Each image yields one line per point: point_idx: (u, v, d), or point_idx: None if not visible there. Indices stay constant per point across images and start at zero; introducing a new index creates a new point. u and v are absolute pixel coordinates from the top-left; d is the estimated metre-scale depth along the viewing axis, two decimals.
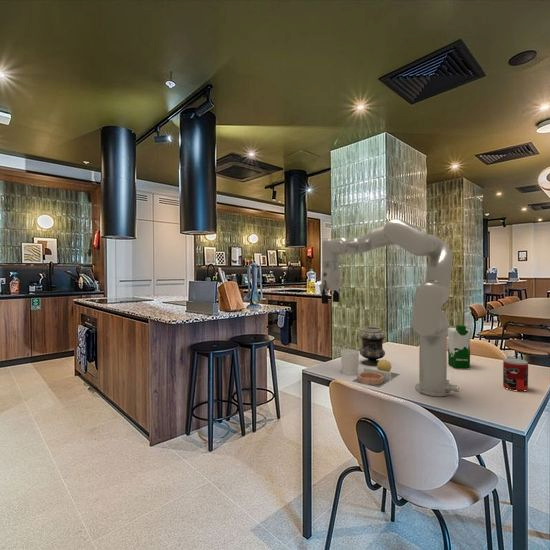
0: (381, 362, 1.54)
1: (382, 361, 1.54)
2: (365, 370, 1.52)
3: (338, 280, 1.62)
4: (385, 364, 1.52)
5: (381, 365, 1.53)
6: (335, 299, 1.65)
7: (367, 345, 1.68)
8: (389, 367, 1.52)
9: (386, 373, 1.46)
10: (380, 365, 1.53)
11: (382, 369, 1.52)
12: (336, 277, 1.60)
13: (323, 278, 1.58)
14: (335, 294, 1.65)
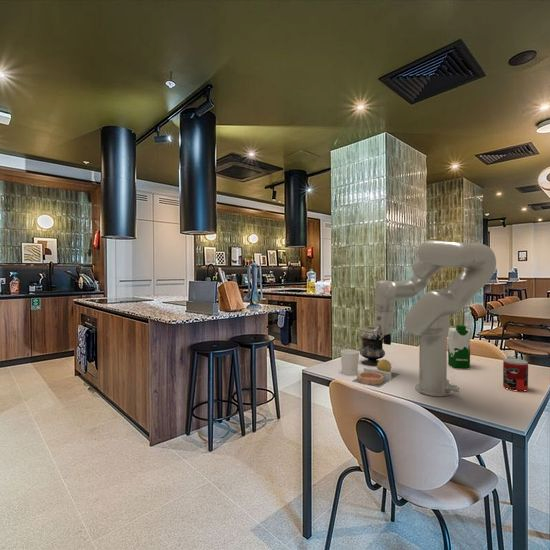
0: (381, 362, 1.54)
1: (382, 361, 1.54)
2: (365, 370, 1.52)
3: (391, 323, 1.55)
4: (385, 364, 1.52)
5: (381, 365, 1.53)
6: (387, 342, 1.59)
7: (366, 345, 1.68)
8: (389, 367, 1.52)
9: (386, 373, 1.46)
10: (380, 365, 1.53)
11: (382, 369, 1.52)
12: (390, 320, 1.53)
13: (377, 322, 1.52)
14: (387, 336, 1.59)
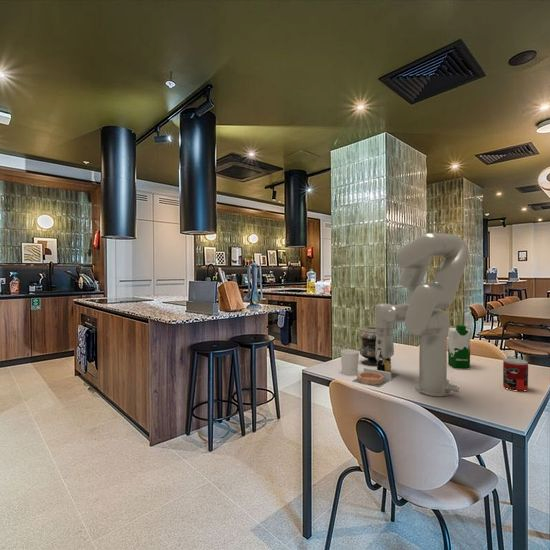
0: None
1: None
2: (365, 370, 1.52)
3: (392, 346, 1.55)
4: (385, 364, 1.52)
5: None
6: None
7: (366, 345, 1.68)
8: (389, 367, 1.52)
9: (386, 373, 1.46)
10: None
11: None
12: (390, 344, 1.53)
13: (377, 345, 1.51)
14: None
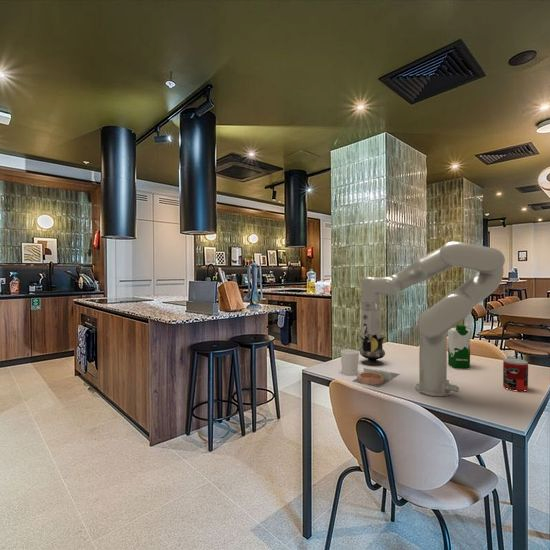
0: None
1: None
2: (365, 370, 1.52)
3: (379, 322, 1.44)
4: (371, 341, 1.42)
5: None
6: None
7: None
8: (375, 344, 1.42)
9: (386, 373, 1.46)
10: None
11: None
12: (377, 319, 1.43)
13: (363, 321, 1.41)
14: None
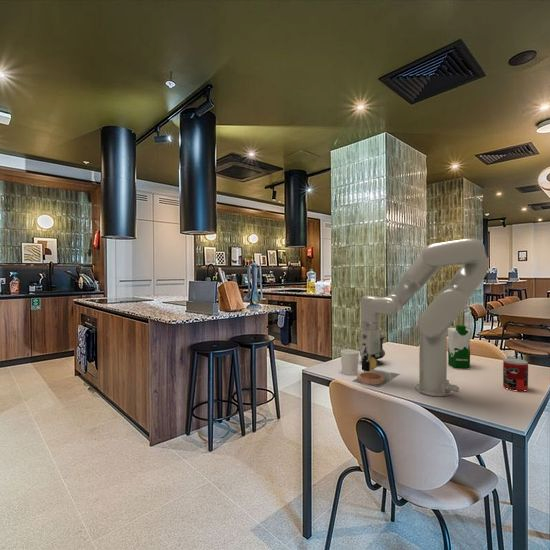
0: None
1: None
2: None
3: (378, 341, 1.44)
4: (370, 360, 1.42)
5: None
6: None
7: None
8: (374, 364, 1.42)
9: (386, 373, 1.46)
10: None
11: None
12: (376, 339, 1.43)
13: (362, 340, 1.41)
14: None
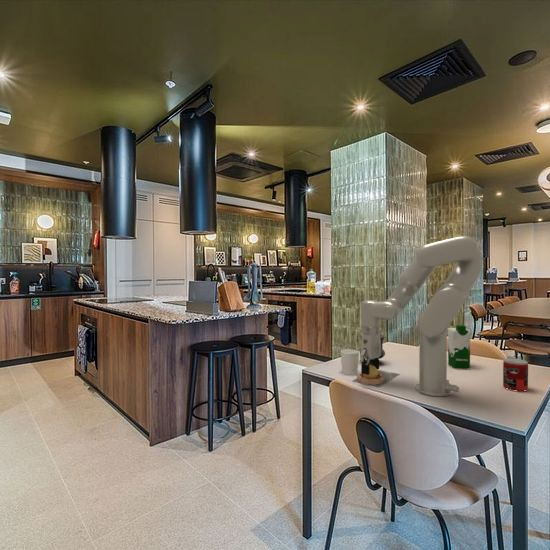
0: None
1: None
2: None
3: (379, 346, 1.44)
4: (371, 370, 1.42)
5: None
6: (375, 366, 1.47)
7: None
8: (375, 373, 1.42)
9: (386, 373, 1.46)
10: None
11: (368, 375, 1.42)
12: (377, 343, 1.43)
13: (363, 345, 1.41)
14: (375, 360, 1.47)
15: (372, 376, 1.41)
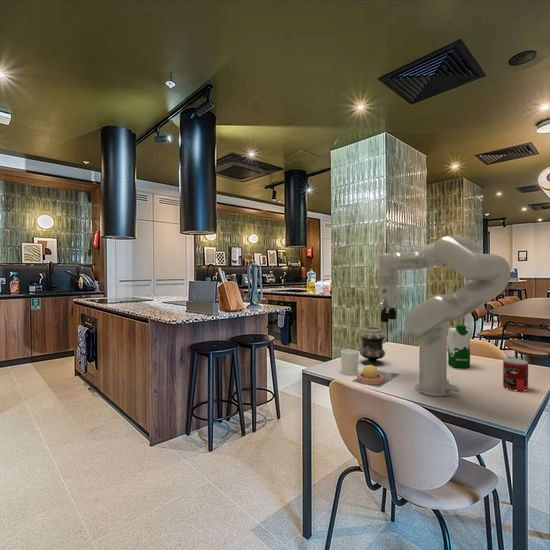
0: (367, 368, 1.43)
1: (368, 367, 1.43)
2: None
3: (396, 296, 1.52)
4: (371, 370, 1.42)
5: (367, 371, 1.42)
6: (391, 316, 1.56)
7: (367, 345, 1.68)
8: (375, 373, 1.42)
9: (386, 373, 1.46)
10: (366, 371, 1.42)
11: (368, 375, 1.42)
12: (395, 293, 1.51)
13: (382, 295, 1.49)
14: (391, 311, 1.56)
15: (372, 376, 1.41)
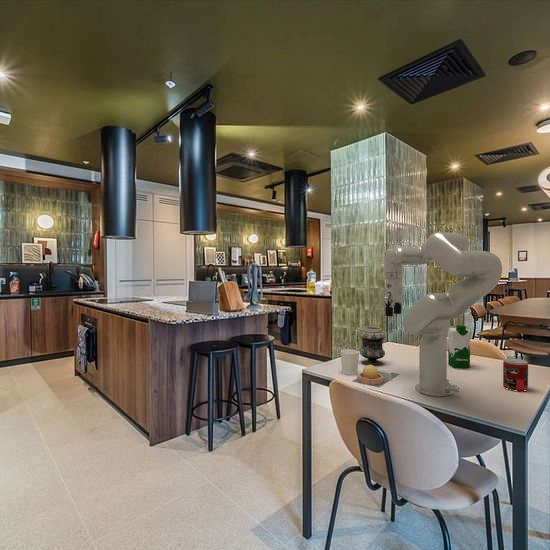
0: (367, 368, 1.43)
1: (368, 366, 1.43)
2: None
3: (401, 291, 1.55)
4: (371, 370, 1.42)
5: (367, 371, 1.42)
6: (397, 311, 1.58)
7: (366, 345, 1.68)
8: (375, 373, 1.42)
9: (386, 373, 1.46)
10: (366, 371, 1.43)
11: (368, 375, 1.42)
12: (400, 288, 1.53)
13: (387, 289, 1.51)
14: (397, 306, 1.58)
15: (372, 376, 1.41)
